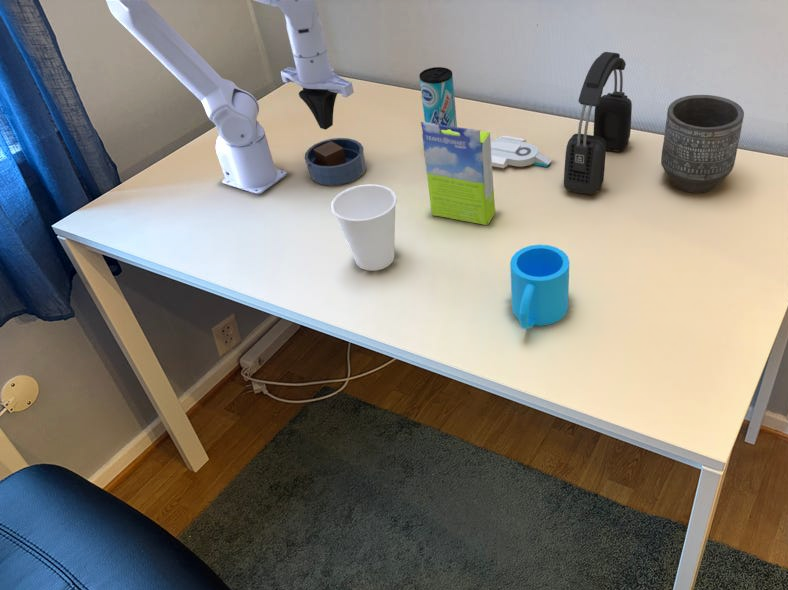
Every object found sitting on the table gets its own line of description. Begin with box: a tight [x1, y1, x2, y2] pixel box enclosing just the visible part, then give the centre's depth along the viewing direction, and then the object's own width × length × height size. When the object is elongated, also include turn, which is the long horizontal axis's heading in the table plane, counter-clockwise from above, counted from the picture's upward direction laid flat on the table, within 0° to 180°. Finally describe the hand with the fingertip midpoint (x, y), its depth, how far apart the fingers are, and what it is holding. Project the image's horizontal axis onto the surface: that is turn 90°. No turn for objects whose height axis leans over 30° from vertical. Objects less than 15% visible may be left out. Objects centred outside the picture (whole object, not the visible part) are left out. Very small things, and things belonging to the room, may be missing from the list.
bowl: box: [304, 137, 367, 187], centre depth 136 cm, size 11×11×4 cm
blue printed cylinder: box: [418, 66, 458, 127], centre depth 135 cm, size 6×6×15 cm
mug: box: [509, 244, 570, 330], centre depth 103 cm, size 12×8×8 cm
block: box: [313, 141, 346, 166], centre depth 136 cm, size 4×4×4 cm
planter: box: [660, 94, 745, 194], centre depth 124 cm, size 12×12×13 cm
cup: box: [330, 183, 398, 272], centre depth 113 cm, size 10×10×11 cm
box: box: [420, 121, 496, 226], centre depth 119 cm, size 10×4×17 cm, turn 68°
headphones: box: [563, 51, 633, 196], centre depth 126 cm, size 22×6×20 cm, turn 155°
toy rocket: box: [490, 135, 552, 169], centre depth 136 cm, size 16×10×2 cm, turn 63°
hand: (326, 126), depth 132 cm, fingers closed
